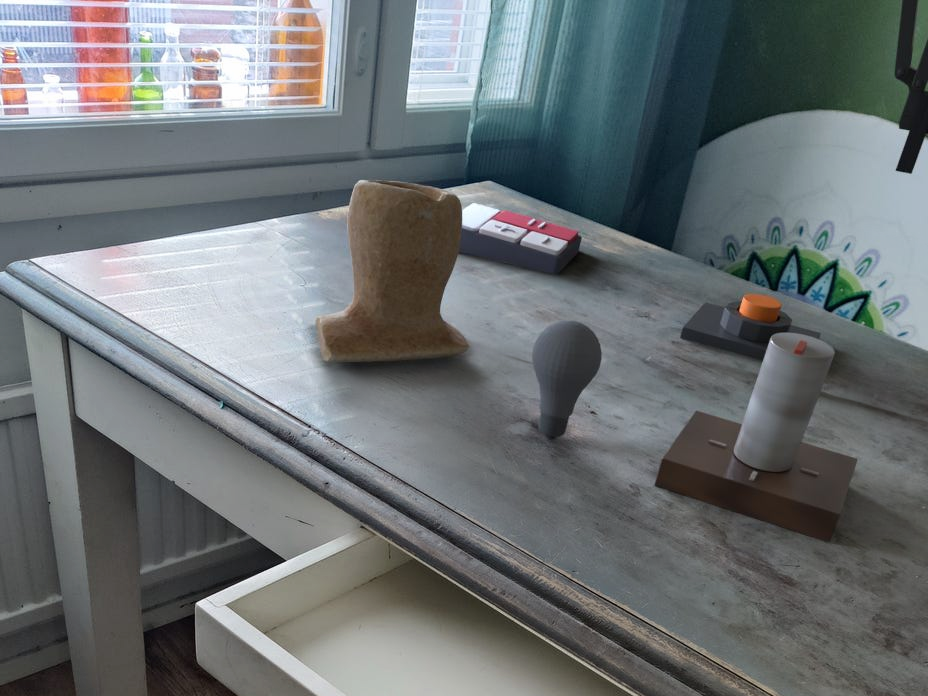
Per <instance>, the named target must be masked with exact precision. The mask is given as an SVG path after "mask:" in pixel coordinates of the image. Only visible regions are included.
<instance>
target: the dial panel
mask: <svg viewBox="0 0 928 696" xmlns="http://www.w3.org/2000/svg"><path fill="white" fill-rule="evenodd" d="M741 426H742V423H740V422H736V421H733V420H729V419H726V418H722V417H719V416H716V415H712V414H709V413H706V412H703V411H699V410H695V411H694V412H693V414H692V415H691V417H690V418H689V419H688V421H687V422H686V424H685V425H684V427H683V428H682V429H681V431H680V432H679V433H678V435H677V437H676V438H675V439H674V441H673V442H672V444H671V445H670V447H669V448H668V450H666V452H665V454H664V455H663V456H662V458H661V460H660V461H661V462H660V463H659V468H658V472H657V475H656V477H655V478H656V479H655V481H654V486H655V487H658V488H661V489H664V490H667V491H670V492H674V493H676V494H678V495H679V494H680V495H682V496H685V497H688V498H690V499H691V498H692V499H693V500H694V499H695V500H697V501H701V502H704V503H706V504H710V505H714V506H717V507H718V508H722V509H726V510H728V511H732V512H734V513H737V514H740V515H744V516H747V517H751V518H753V519H756V520H758V521H763V522H766V523H769V524H772V525H775V526H778V527H782V528H784V529H787V530H790V531H793V532H797V533H798V534H803V535H806V536H809V537H812V538H814V539H817V540H820V541H824V542H827V543H829V542H830V539H831V538H832V535H833V532H834V530H835V528H836V525H837V523H838V521H839V518H840V516H841V513H842V510H843V506H844V505H845V501H846V497H847V494H848V491H849V488H850V485H851V482H852V478H853V476H854V473H855V469H856V466H857V464H858V463H857V462H858V458H856V457H853V456H849V455H847V454H843V453H840V452H836V451H833V450H829V449H827V448H824V447H819V446H817V445H813V444H810V443H806V442H804V441H802V442H801V445H800V447H799V450H798V453H797V455H796V458H795V461H794V463H793V466H792V467H791V468H790V469H789V470H786V471H783V472H770V471H764V470H760V469H756V468H753V467H751V466H749V465H747V464H745V463H743V462H742V461H740V460H739V459H738V458H737V457H736V456H735V454H734V447H735V444H736V441H737V438H738V435H739V432H740V429H741Z"/></svg>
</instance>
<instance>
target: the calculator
mask: <svg viewBox="0 0 928 696" xmlns="http://www.w3.org/2000/svg"><path fill="white" fill-rule="evenodd" d="M579 233H580V232H579V231H578V230H576V229H572V228H568V227H566V226H561V225H558V224H554V223H553V222H548V221H544V220H540V219H538V218H533V217H531V216H527V215H524V214H521V213H516V212H513V211H510V210H506V209H505V210H502V211H501V210H499V209H497V208H493V207H489V206H486V205H483V204H479V203H472V204H470V205H467V207H465V208H462V231H461V241H460V248H459V252H460V253H464V254H468V255H472V256H475V257H476V256H477V257H481V258H484V259H488V260H493V261H497V262H502V263H506V264H510V265H514V266H519V267H522V268H527V269H530V270H536V271H540V272H543V273H548V274H552V275H558V274H559V273H560V272H561V271H562V270H563V269H564V268H565V267H566V266H567V265H568V264H569V263H570V262H571V261H572V260H573V259H574V257H576V256H577V255H578V253H579V251H580V247H581V243H582V239H583V238H582V236H581V235H580V234H579ZM459 252H458V253H459Z"/></svg>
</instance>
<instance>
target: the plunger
mask: <svg viewBox="0 0 928 696" xmlns="http://www.w3.org/2000/svg"><path fill="white" fill-rule="evenodd" d="M741 301H742V303H741V306H740V310H739V313H740V314H741V315H743V316H746V317H748V318H750V319H754V320H758V321H765V322H776V321H777V318H778V315H779V312H780V311H781V309H782V302H781V301H779V300H778V299H776V298H774V297H771V296H768V295H765V294H758V293H748V294H745V295H743V297H742V300H741Z"/></svg>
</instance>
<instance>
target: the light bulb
mask: <svg viewBox="0 0 928 696" xmlns="http://www.w3.org/2000/svg"><path fill="white" fill-rule="evenodd" d="M531 354H532V355H531V356H532V357H531V359H532V367H533V371H534V373H535V375H536V379H537V383H538V386H539V404H538V407H539V411H540V413H539V419H538V420H539V421H538V430H539V432H540V433H541V434H542V435H543V436H545V438H547V439H549V440H554V439H555V440H556V438H559V437H563V435H564V434H565V433H566V430H567V427H568V424H569V419H570V417H571V416H572V415H573V413H574V409H575V405H576V403H577V401H578V399H579V397H580V395H581V394H582V392H583V391H584V390H585V389H586V388H587V387H588V386H589V384H590V383H591V382H592V381H593V379H594V378H595V377H596V375H597V374H598V372H599V369H600V367H601V362H602V358H603V357H602V355H603V353H602V348H601V343H600V340H599V338H598V337H597V334H596V333H595V332H594V331H593V329H591V328H590V327H589V326H588V325H586V324H584V323H583V322H581V321H577V320H571V319H565V320H559V321H556V322H554V323H551V324H550V325H548V326H547V327H546V328H545V329H543V330H542V331H541V332H540V333H539V335H538V337H537V338H536V340H535V342H534V345H533V346H532V353H531Z"/></svg>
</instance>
